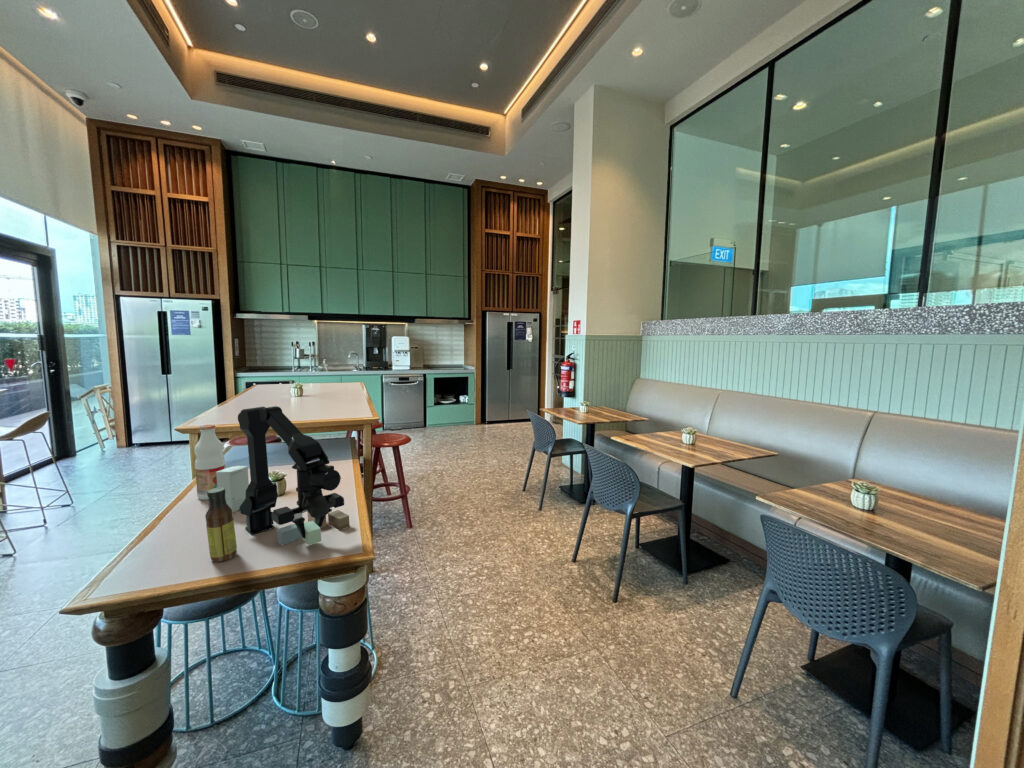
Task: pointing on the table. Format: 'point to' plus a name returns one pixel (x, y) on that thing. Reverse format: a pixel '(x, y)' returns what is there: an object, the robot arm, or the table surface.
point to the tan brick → (314, 519)
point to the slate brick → (288, 534)
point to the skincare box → (233, 485)
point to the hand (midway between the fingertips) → (310, 535)
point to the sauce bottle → (220, 527)
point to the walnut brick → (338, 520)
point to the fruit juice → (208, 460)
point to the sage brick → (312, 533)
